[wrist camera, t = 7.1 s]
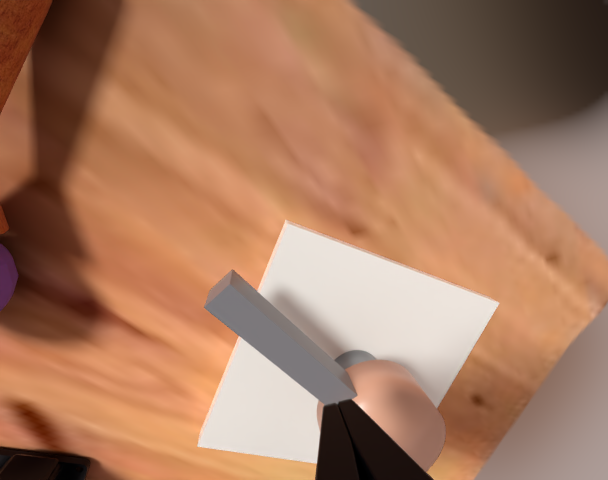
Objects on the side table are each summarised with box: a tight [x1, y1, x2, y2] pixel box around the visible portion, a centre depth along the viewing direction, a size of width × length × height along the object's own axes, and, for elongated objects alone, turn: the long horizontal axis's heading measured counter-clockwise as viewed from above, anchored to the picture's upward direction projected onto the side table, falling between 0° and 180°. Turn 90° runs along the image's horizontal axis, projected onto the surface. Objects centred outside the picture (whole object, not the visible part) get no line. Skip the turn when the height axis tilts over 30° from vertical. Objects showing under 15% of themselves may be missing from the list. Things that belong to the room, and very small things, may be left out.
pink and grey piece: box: [204, 269, 446, 472], centre depth 16 cm, size 16×7×3 cm, turn 42°
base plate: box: [197, 220, 499, 464], centre depth 21 cm, size 18×18×4 cm
